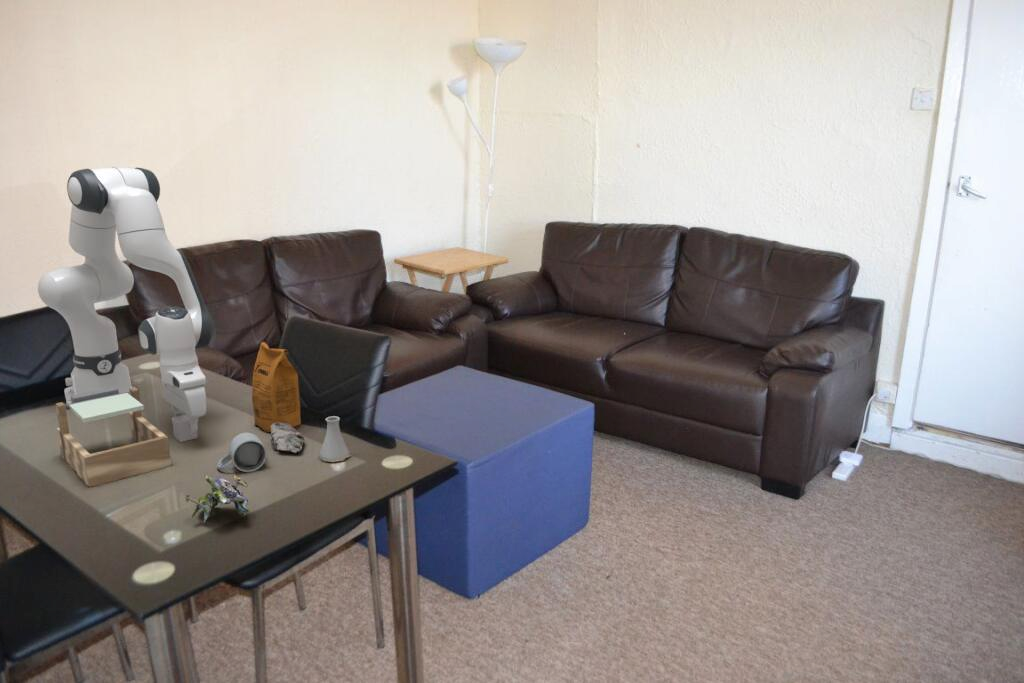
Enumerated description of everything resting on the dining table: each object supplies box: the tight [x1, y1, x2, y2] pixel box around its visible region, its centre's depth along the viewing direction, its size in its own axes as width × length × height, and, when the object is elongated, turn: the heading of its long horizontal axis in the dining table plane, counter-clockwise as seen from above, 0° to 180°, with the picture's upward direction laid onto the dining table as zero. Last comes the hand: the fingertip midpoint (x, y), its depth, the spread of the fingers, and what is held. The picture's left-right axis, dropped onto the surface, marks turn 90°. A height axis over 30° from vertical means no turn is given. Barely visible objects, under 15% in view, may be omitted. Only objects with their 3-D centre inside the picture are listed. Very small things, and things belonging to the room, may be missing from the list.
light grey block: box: [171, 414, 199, 443], centre depth 207 cm, size 4×4×5 cm
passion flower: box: [184, 473, 249, 526], centre depth 165 cm, size 11×11×12 cm
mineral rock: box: [270, 422, 305, 454], centre depth 203 cm, size 15×8×4 cm, turn 16°
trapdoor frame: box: [55, 386, 172, 488], centre depth 192 cm, size 23×18×14 cm
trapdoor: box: [65, 387, 145, 424], centre depth 193 cm, size 16×14×3 cm
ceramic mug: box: [216, 432, 267, 473], centre depth 190 cm, size 11×8×8 cm
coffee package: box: [251, 341, 302, 433], centre depth 213 cm, size 10×12×22 cm
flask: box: [318, 415, 350, 460], centre depth 195 cm, size 7×7×10 cm
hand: (186, 424), depth 207 cm, fingers open, 8 cm apart
